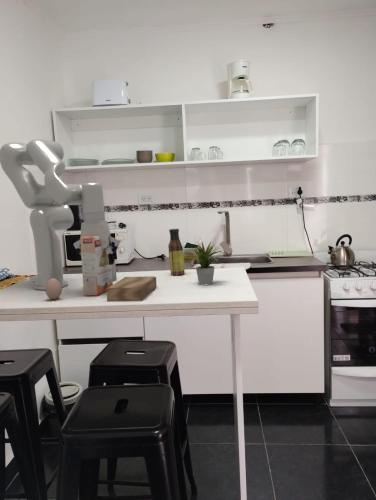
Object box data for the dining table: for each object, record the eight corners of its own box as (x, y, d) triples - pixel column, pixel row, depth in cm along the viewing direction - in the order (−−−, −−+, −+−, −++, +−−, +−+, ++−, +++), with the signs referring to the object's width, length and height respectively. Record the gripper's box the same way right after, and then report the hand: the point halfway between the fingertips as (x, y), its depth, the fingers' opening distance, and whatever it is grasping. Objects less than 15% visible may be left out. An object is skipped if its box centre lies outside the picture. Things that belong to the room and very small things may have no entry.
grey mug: (107, 276, 182) (106, 257, 181) (119, 280, 171) (118, 260, 170) (87, 279, 177) (86, 259, 176) (98, 283, 166) (97, 262, 165)
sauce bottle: (187, 273, 179) (185, 228, 177) (179, 276, 174) (177, 229, 171) (175, 272, 182) (172, 228, 180) (167, 275, 177) (164, 229, 175)
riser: (107, 301, 135) (106, 288, 135) (125, 287, 155) (124, 276, 154) (142, 300, 133) (141, 287, 133) (156, 287, 153) (156, 276, 153)
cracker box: (99, 296, 143) (94, 236, 141) (83, 296, 144) (78, 236, 142) (114, 287, 157) (110, 232, 154) (99, 287, 158) (95, 233, 155)
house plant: (219, 288, 146) (217, 242, 144) (182, 287, 151) (180, 243, 149) (228, 280, 159) (227, 238, 158) (194, 280, 164) (192, 239, 162)
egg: (43, 300, 141) (41, 279, 140) (55, 297, 145) (54, 276, 144) (53, 302, 138) (51, 280, 137) (65, 298, 142) (64, 277, 141)
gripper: (67, 219, 145) (71, 267, 147) (113, 216, 142) (118, 265, 144) (76, 218, 152) (80, 264, 154) (120, 215, 149) (124, 262, 151)
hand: (98, 265), depth 149 cm, fingers open, 9 cm apart
